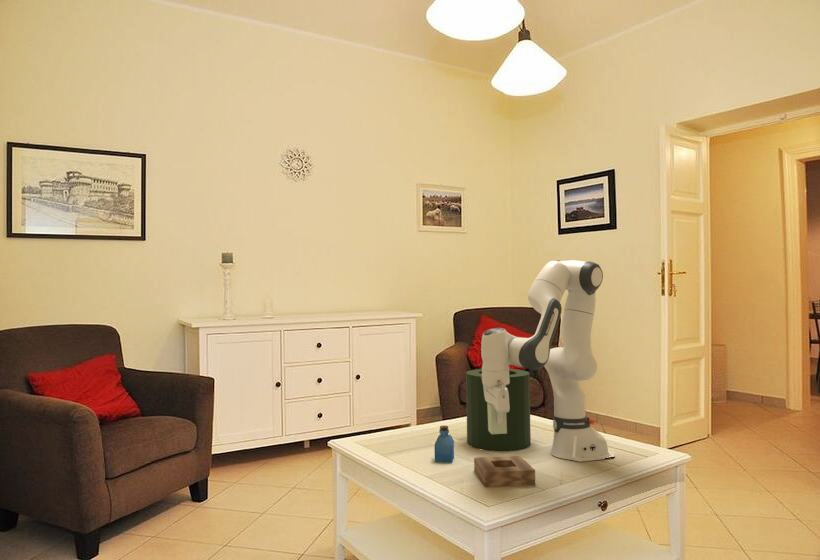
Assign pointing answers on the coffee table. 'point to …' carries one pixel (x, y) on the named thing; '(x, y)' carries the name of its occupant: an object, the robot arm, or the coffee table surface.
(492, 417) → the sage plug
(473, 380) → the flower pot
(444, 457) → the perfume bottle
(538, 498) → the coffee table surface
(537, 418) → the coffee table surface
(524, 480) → the walnut stand
